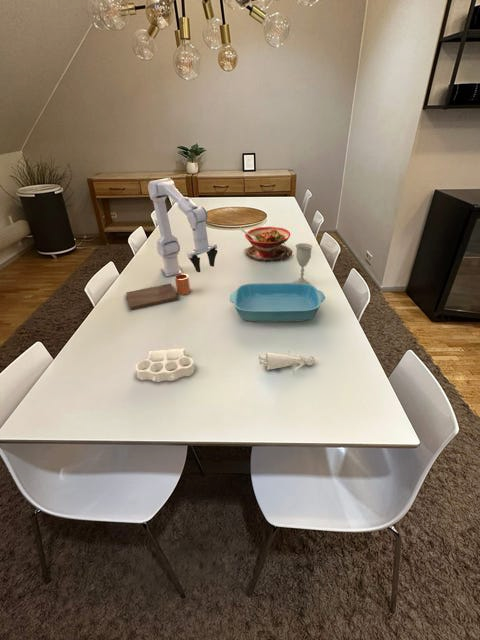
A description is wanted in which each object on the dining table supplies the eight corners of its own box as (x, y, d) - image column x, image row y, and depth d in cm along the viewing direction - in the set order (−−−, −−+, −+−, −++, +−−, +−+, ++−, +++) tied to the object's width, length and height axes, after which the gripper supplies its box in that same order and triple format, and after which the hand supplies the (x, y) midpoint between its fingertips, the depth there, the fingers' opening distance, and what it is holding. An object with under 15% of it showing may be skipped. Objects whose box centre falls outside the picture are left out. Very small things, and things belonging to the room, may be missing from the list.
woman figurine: (257, 343, 113) (312, 343, 114) (256, 354, 115) (310, 354, 116) (261, 367, 103) (320, 367, 104) (260, 378, 105) (318, 378, 106)
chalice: (311, 282, 158) (314, 244, 148) (307, 288, 153) (310, 250, 143) (295, 279, 161) (298, 242, 151) (291, 285, 156) (293, 247, 146)
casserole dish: (227, 325, 130) (226, 309, 126) (232, 297, 149) (232, 282, 145) (326, 326, 128) (328, 310, 124) (319, 297, 146) (320, 282, 142)
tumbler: (176, 290, 156) (173, 275, 152) (188, 287, 158) (186, 272, 153) (179, 296, 151) (176, 280, 147) (191, 293, 153) (189, 278, 149)
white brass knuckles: (195, 352, 117) (194, 382, 105) (141, 356, 116) (134, 387, 104) (194, 344, 115) (192, 374, 103) (139, 348, 114) (132, 379, 102)
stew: (233, 260, 182) (231, 230, 174) (249, 244, 201) (248, 217, 192) (284, 267, 173) (285, 236, 164) (296, 250, 191) (297, 221, 183)
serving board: (126, 295, 154) (126, 292, 153) (171, 286, 160) (170, 283, 159) (130, 310, 143) (130, 306, 142) (178, 299, 149) (177, 296, 148)
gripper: (192, 244, 136) (197, 276, 143) (220, 235, 145) (223, 265, 151) (182, 241, 141) (187, 272, 148) (209, 232, 149) (213, 262, 156)
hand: (205, 268), depth 150 cm, fingers open, 7 cm apart
